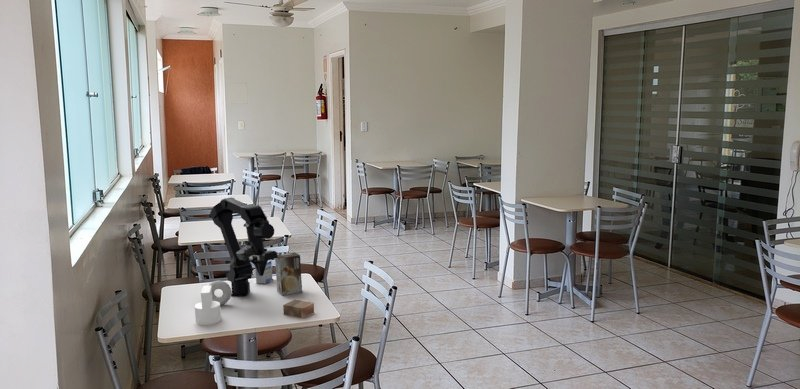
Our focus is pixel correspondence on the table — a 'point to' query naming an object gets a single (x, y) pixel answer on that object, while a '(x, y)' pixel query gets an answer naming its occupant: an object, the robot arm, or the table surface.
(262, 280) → the medicine box
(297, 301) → the walnut block
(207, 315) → the base with upright slab
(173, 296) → the table surface
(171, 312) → the table surface
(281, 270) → the coffee box
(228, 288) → the donut
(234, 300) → the table surface
